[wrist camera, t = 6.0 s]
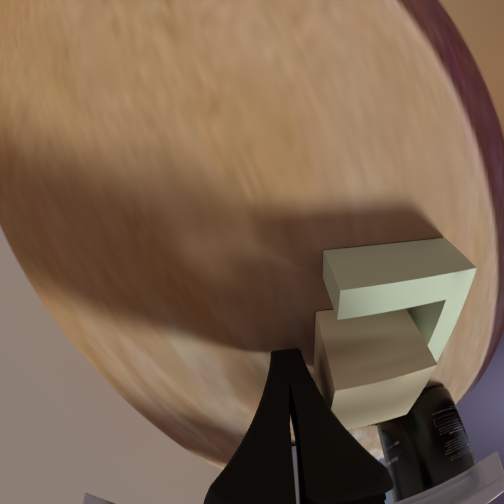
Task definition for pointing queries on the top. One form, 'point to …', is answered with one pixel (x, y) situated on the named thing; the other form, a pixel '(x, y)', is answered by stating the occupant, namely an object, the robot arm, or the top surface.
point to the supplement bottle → (425, 444)
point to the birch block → (370, 365)
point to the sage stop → (402, 284)
